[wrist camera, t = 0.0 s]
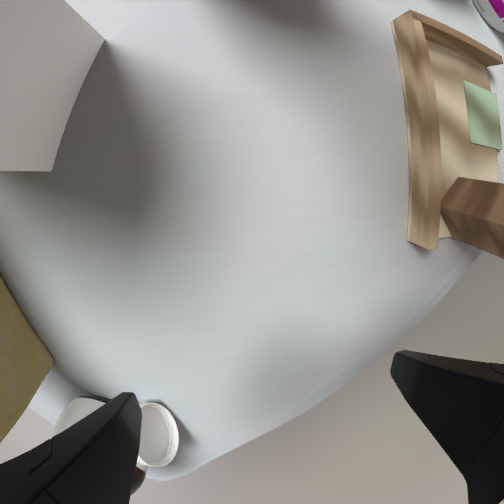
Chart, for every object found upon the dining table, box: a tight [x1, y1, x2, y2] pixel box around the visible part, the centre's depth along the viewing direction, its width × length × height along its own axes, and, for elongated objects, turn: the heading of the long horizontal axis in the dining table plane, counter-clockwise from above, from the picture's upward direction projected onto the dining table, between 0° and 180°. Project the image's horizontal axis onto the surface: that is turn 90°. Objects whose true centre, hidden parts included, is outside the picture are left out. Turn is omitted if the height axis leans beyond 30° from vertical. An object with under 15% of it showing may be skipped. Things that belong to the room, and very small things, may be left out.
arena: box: [391, 10, 503, 250], centre depth 21 cm, size 22×16×3 cm
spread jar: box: [50, 396, 179, 495], centre depth 20 cm, size 12×11×12 cm
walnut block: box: [440, 177, 504, 259], centre depth 18 cm, size 4×4×13 cm
